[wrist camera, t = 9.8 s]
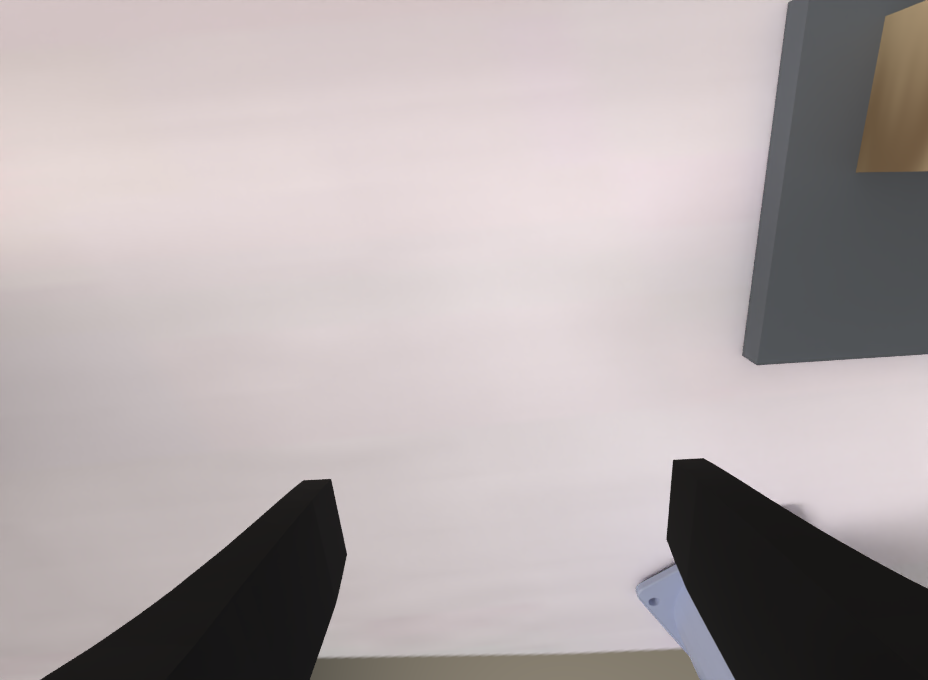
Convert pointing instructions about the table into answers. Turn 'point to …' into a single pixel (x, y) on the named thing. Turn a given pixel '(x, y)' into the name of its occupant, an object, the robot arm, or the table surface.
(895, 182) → the pin plate
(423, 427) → the table surface
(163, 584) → the table surface
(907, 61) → the hollow block
